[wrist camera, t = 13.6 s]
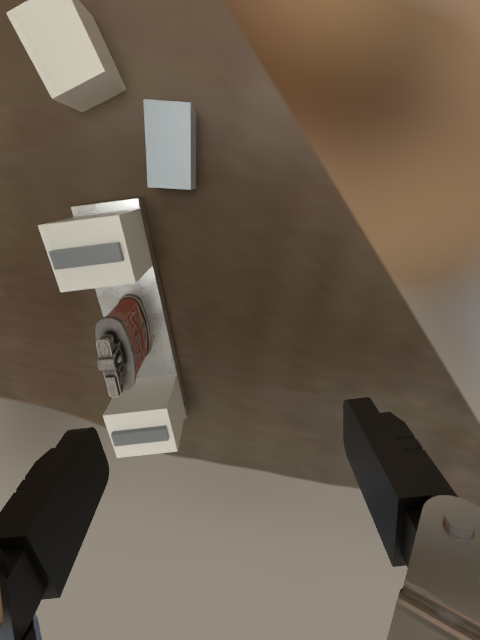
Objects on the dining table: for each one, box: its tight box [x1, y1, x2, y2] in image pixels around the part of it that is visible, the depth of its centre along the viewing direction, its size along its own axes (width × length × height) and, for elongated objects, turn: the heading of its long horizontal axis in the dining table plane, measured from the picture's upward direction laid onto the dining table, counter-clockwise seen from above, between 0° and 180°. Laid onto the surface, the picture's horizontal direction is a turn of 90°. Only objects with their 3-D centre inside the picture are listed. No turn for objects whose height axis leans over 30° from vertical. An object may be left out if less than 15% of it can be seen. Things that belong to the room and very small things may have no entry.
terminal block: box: [144, 99, 196, 190], centre depth 32 cm, size 4×7×5 cm, turn 177°
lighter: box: [95, 294, 151, 398], centre depth 35 cm, size 8×3×10 cm, turn 4°
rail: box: [71, 198, 188, 419], centre depth 41 cm, size 7×28×2 cm, turn 7°
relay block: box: [6, 0, 127, 112], centre depth 29 cm, size 5×6×6 cm
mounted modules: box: [38, 209, 185, 458], centre depth 36 cm, size 7×26×8 cm, turn 7°
